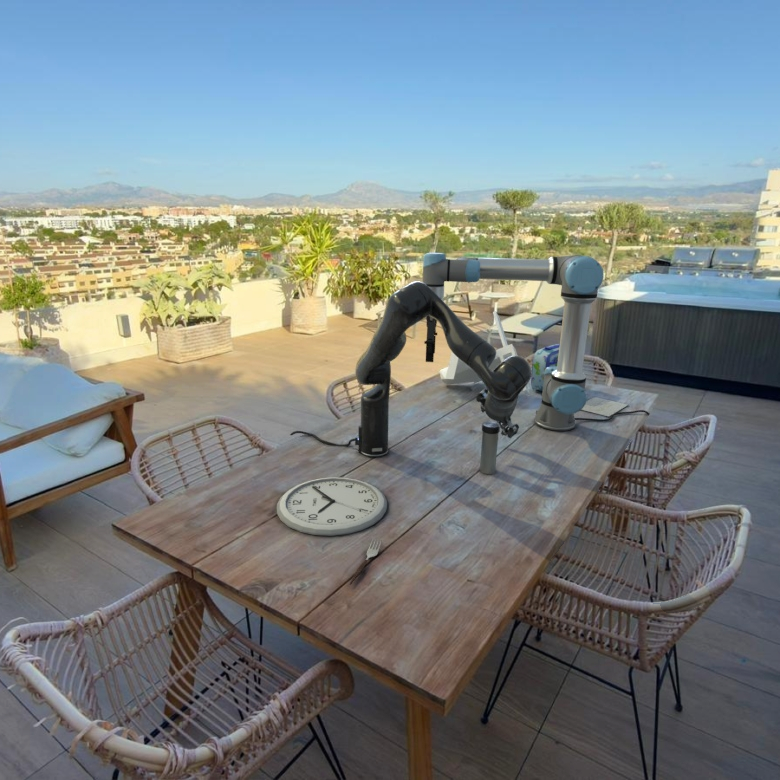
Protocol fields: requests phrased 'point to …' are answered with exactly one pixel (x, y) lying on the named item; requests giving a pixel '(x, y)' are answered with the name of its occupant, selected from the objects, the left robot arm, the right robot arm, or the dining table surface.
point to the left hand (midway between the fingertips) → (494, 421)
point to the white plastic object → (465, 374)
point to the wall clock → (331, 506)
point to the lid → (490, 427)
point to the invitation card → (603, 406)
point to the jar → (488, 453)
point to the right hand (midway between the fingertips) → (430, 357)
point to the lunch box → (543, 364)
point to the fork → (370, 554)
